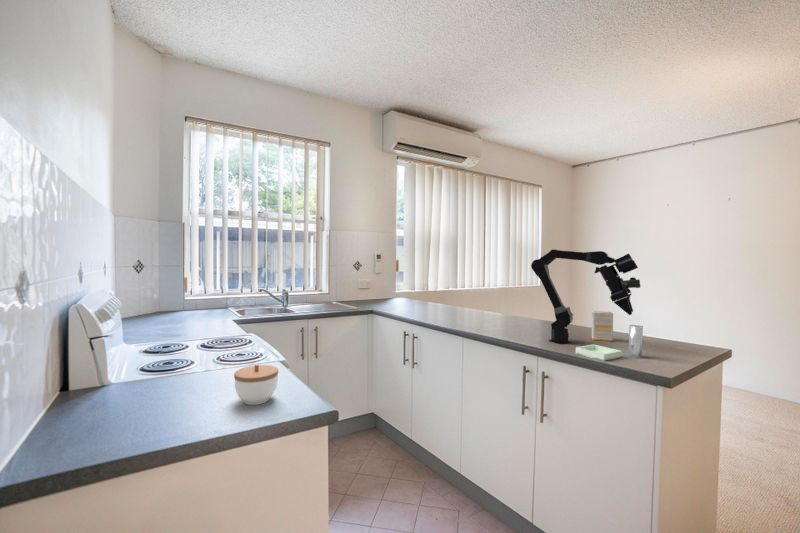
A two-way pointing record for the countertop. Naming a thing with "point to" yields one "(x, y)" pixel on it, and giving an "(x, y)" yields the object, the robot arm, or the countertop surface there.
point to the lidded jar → (256, 383)
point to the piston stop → (635, 341)
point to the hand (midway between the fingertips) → (631, 313)
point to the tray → (599, 352)
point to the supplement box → (602, 326)
